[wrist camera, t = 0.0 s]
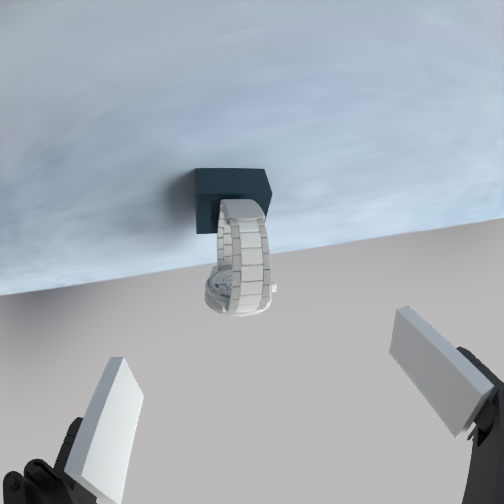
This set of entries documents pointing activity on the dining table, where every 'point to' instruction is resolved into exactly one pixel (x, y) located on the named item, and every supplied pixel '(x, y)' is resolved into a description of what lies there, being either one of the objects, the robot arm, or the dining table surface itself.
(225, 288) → the watch
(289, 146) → the dining table surface
